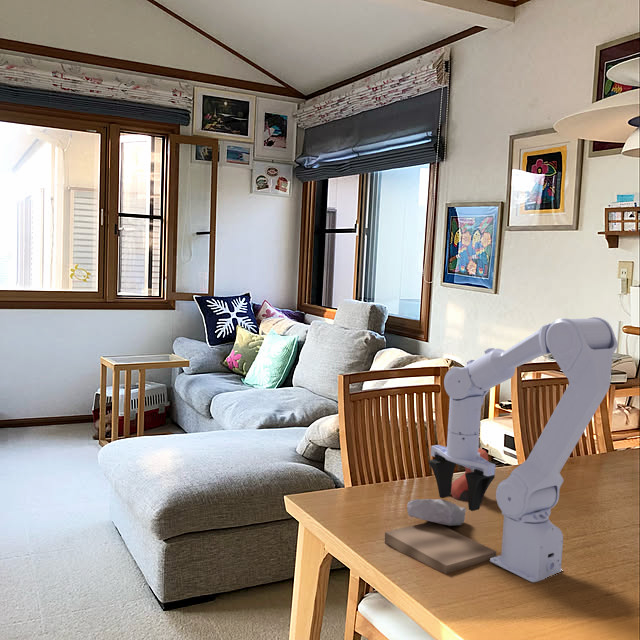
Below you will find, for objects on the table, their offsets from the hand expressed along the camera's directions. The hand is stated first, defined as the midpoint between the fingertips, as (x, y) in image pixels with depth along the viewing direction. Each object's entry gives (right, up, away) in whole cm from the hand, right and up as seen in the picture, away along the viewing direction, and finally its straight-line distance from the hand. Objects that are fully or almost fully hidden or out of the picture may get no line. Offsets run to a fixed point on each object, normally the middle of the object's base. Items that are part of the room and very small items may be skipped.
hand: (459, 503), depth 133 cm
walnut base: (-5, -8, -5) cm, 10 cm away
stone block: (-8, -4, +8) cm, 12 cm away
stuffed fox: (+6, -6, +26) cm, 27 cm away
